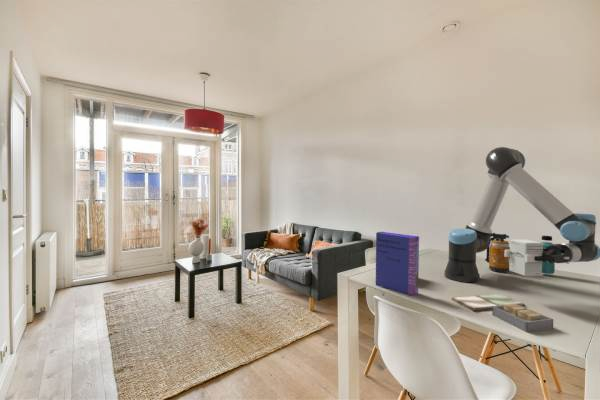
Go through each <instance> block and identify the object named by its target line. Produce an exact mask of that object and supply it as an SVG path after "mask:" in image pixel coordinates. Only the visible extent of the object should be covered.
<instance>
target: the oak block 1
mask: <svg viewBox="0 0 600 400" xmlns="http://www.w3.org/2000/svg"><path fill="white" fill-rule="evenodd" d="M525 308H526V307H525ZM525 308H523V307H521V306H518V305H516V304H504V311H505V312H507V313H509V314H512V315H514V316H516V317H518V311H519V310H525Z"/></svg>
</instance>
